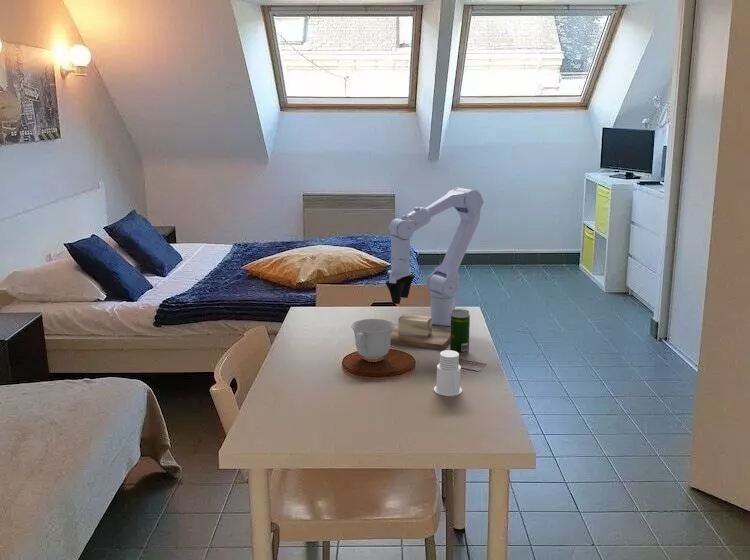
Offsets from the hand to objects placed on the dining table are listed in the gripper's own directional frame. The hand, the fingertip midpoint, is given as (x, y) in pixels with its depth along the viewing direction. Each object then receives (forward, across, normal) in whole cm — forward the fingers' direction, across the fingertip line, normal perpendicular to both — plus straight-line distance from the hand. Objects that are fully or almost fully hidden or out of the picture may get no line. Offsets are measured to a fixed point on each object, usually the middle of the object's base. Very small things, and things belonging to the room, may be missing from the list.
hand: (400, 300), depth 227 cm
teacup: (+10, +30, +2) cm, 32 cm away
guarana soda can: (+10, +14, +23) cm, 29 cm away
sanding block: (+8, +7, +7) cm, 13 cm away
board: (+9, +7, +8) cm, 14 cm away
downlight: (+10, +43, +28) cm, 52 cm away
